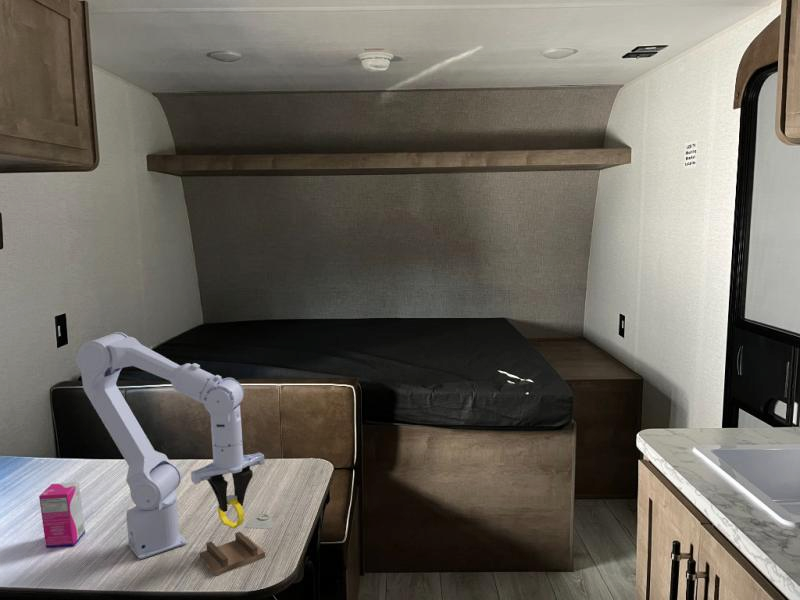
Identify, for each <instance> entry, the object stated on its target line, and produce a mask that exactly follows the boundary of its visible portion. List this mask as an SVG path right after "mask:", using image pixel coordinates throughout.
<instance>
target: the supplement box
mask: <svg viewBox="0 0 800 600" xmlns="http://www.w3.org/2000/svg"><path fill="white" fill-rule="evenodd" d="M38 498H39V505H40V513H41V520H42V528H43V535H44V543H45V548H47V549H48V548H50V549H51V548H64V547H65V548H66V547H70V548H71V547H75V546H76V545H77V544H78V542H79V541H80V540H81V538H83V536H84V535H85V534H86V529H85V520H84V513H83V506H82V499H81V498H82V496H81V490H80V483H79V481H74V482H63V483H62V482H61V483H51V484H50V485H49V486H48V487H47V488H46V489H45V490H44V491H43V492H42V493H41V494H40V495H38Z"/></svg>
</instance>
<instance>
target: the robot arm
mask: <svg viewBox="0 0 800 600" xmlns="http://www.w3.org/2000/svg"><path fill="white" fill-rule="evenodd" d="M74 361H75V364H76V366H77V367H78V369H79V371H80V374H81V381H82V382H81V383H82V389H83V390H84V393H85V394H86V396H87V398H88V399H89V401H90V404H91V405H92V406H93V409H94V410H95V411H96V413H97V415H98V416H99V418H100V419H101V421H102V424H103V425H104V426H105V429H106V430H107V432H108V433H109V436H110V437H111V439H112V440H113V441H114V443H115V445H116V447H117V449H118V451H119V452H120V454H121V455H122V456H123V459H124V460H125V462H126V463H127V466H128V469H127V475H126V479H125V481H126V483H127V484H128V485H127V486H128V488H129V490H130V491H129V493H130V497H131V500H132V502H133V503H134V504H135V505H136V506H134V507H132V508H129V509H127V511H126V529H127V537H128V538H127V540H128V541H127V545H128V546H129V547H130V550H132V552H133V553H134V554H135V556H136V557H137V558H138V560H142V559H145V558H149V557H151V556H154V555H157V554H160V553H163V552H166V551H169V550H172V549H175V548H177V547H180V546H183V545H186V544H187V543H188V541H187V539H186V538H185V537H184V536H183V535H182V534H181V533H180V526H179V525H180V524H179V523H180V522H179V512H178V511H179V509H178V496H177V493H178V492H177V488H178V487H179V486H180V484H181V482H182V473H181V470H180V469H179V467H178V466H177V465H175V464H174V463H173V462H171V460H170V459H169V458H168V456H167V455H166V454H165V453H162V452H159V451H157V450H155V449H154V447H153V445H152V444H151V442H150V440H149V438H148V436H147V435H146V433H145V432H144V429H143V428H142V427H141V425H140V423H139V421H138V420H137V418H136V416H135V415H134V413H133V411H132V409H131V408H130V406H129V405H128V403H127V401H126V399H125V397H124V396H123V394H122V393H121V390H120V389H119V387H118V385H117V381H118V379H119V376H120V372H121V371H122V370H123V368H127V367H134V368H138V369H140V370H143V371H145V372H148V373H149V374H153V375H154V376H157V377H159V378H162V379H165V380H167V381H170V384H171V386H172V389H173V390H174V391H176V392H178V393H180V394H183V395H185V396H187V397H188V398H190V399H192V400H195V401H197V402H199V403H201V404H202V405H204V408H205V409H206V411H207V412H208V413H209V414H210V415H209V416H210V431H211V444H212V446H211V447H212V461H213V462H211V463H209V464H207V465H205V466H202V467H201V468H198V469H195V470H192V471H190V478H191V480H190V481H191V482H192V483H193V484H194V485H199V484H201V482H203V481H207V482H208V484H209V486H210V487H211V489H212V491H213V493H214V494H215V498H216V500H217V503H218V506H219V507H220V509H221V510H222V511H223V512H225V513H226V512H227V511H228V504H227V496H228V494H227V492H228V491H227V490H228V484H229V482H228V481H227V480H226V479H225V476H224V475H227V474H230V473H231V476H232V481H233V489H234V495H236V496H237V497H238V502H239V503H240V504H241V506H242V507H243V506H244V502H245V501H244V500H245V497H246V493H247V489H248V486H249V484H250V482H251V480H252V478H253V473H254V472H253V470H252V469H251V467H255V466H258V465H259V466H262V465H265V455H264V453H261V452H256V453H253V454H244V449H243V446H244V445H243V432H242V430H243V429H242V417H241V415H242V414H241V413H242V412H241V402H242V401H243V399H244V395H245V389H244V387H243V386H242V384H241V383H240V382H239V381H238V380H236V379H235V378H233V377H225V378H222V376H221V375H219V374H216V375H215V374H212V373H211V372H208V371H206V370H204V369H201V365H200V364H198V363H195V362H193V363H192V364H191V363H190V362H189V363H188V362H187V363H184V364H182V365H180V364H178V363H177V362H174V361H172V360H170V359H169V358H166V356H164V355H162V354H160V353H158V352H156V351H154V350H152V349H151V348H149V347H147V346H146V345H144V344H141V343H140V341H138V339H137V338H135V337H132V336H128V335H127V334H126V333H123V332H121V331H115V332H112V333H108V335H105V336H103V337H102V336H101V337H99V338H97V339H94V340H88V341H86V342H84V343H83V344H82V345H81V346H80V348H79V350H78V353H77V356H76V358H75V360H74Z"/></svg>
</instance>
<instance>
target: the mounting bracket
mask: <svg viewBox="0 0 800 600" xmlns="http://www.w3.org/2000/svg"><path fill="white" fill-rule="evenodd" d="M263 517H264V518H263ZM265 517H266V518H265ZM271 518H272V516H271V514H269V513H263V514H259V516H258V517H257V518H253V517H250V519H249V520H248V521H247V523H246V524H245V528H247V529H261V530H262V529H265V530H267V529H269V530H270V529H272V528H273V527H274V526H275V523H276V521H271V520H270V519H271Z"/></svg>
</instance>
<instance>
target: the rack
mask: <svg viewBox="0 0 800 600" xmlns="http://www.w3.org/2000/svg"><path fill="white" fill-rule="evenodd" d="M234 535H235V536H234V537H235V540H232V541H229V542H225V543H222V544H221V545H218V546H216V544H215V543H214V542H212V541H209V542H206V543H205V544H206V550H204V551H201V552H199V559H200V560H201V561H202V562H203V563H204V564H205V566H207V568H208V569H209V570H210V571H211V572H212V573H213V574H214V576H218V575H221V574H224V573H227V572H229V571H231V570H234V569H237V568H240V567H242V566H244V565H247V564H249V563H252V562H255V561H258V560H260V559H263V558H265V557H266V552H265V551H264V550H263V549H262V548H261V547H260V546H259V545H258V544H257V543H255V542H254V541H253V540H252V539H251V538H250V537H249V536H248V535H245V534H243V532H241V531H237V532H235V533H234Z"/></svg>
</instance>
